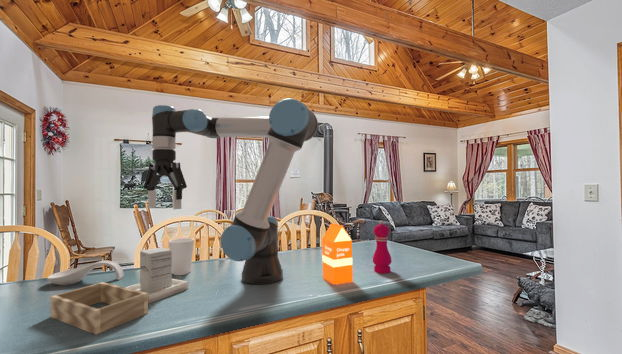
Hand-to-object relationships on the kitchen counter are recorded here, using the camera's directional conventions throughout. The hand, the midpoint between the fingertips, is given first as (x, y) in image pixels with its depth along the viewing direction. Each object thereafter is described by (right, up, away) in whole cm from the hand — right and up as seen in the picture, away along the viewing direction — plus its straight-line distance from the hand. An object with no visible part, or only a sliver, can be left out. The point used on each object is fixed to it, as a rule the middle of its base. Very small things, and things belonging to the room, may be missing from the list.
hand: (164, 208), depth 108 cm
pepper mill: (+81, -26, +11) cm, 85 cm away
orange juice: (+62, -26, +1) cm, 67 cm away
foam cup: (+1, -27, +13) cm, 30 cm away
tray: (+2, -27, -9) cm, 28 cm away
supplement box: (+2, -26, -9) cm, 27 cm away
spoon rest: (-31, -28, +4) cm, 42 cm away
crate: (-5, -26, -26) cm, 37 cm away
